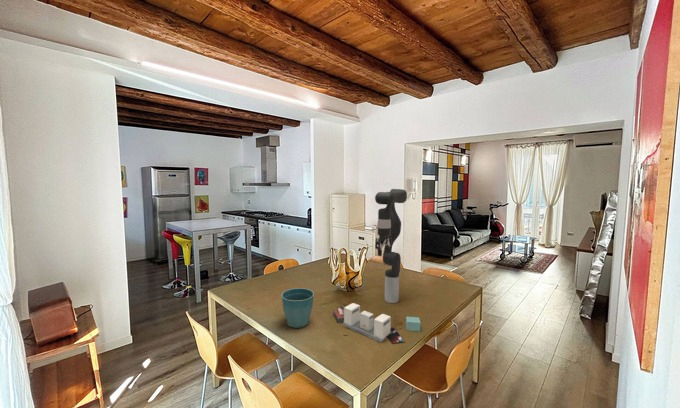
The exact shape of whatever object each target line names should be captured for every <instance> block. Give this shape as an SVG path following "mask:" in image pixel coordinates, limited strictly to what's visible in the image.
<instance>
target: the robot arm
mask: <svg viewBox="0 0 680 408" xmlns="http://www.w3.org/2000/svg"><path fill="white" fill-rule="evenodd" d="M407 199H408V192H407V191H406V190H405V189H399V188H397V189H396V188H391V189H390V191H378V192H377V193H376V194H375V197H374V200H375V202H376V204H377V205H385V207H383V208H379V209H378V211H377V212H378V213H377V216H378V217H377V235H378V237H376V238H375V247H374V248H375V249H376V250H377V256H378V257H382V262H383V264H385V265H387V266H391V268H388V269H386V270H385V272H384V302H386V303H388V304H396V303H398V302H399V300H400V286H399V285H400V271H401V263H402V262H401V255H400V253H399V252H396V251H392V250H393V245H394V243H395V242H396V241H397V239H398V238H399V237H400V234H401V230H402V229H401V228H402V221H401V219H400V217H399V214H398V213H397V211H396V207H395V206H396V205H395V204H404V203H406V201H407ZM383 247H384V249H383ZM382 249H383V251H382Z"/></svg>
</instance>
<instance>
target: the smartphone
mask: <svg viewBox="0 0 680 408" xmlns="http://www.w3.org/2000/svg"><path fill="white" fill-rule="evenodd" d="M390 332H391V335H389V336H388V337H387V338H386V339H388V340H389V342H390V344H392V345H397V344H398V345H399V344H405V343H406V341H405V339H404V338H403V337H402V336H401V334H400V333H399V332H398V330H397V329H396V328H395V327H394V326H393V327H391V329H390Z"/></svg>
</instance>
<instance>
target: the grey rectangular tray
mask: <svg viewBox="0 0 680 408" xmlns="http://www.w3.org/2000/svg"><path fill="white" fill-rule="evenodd" d="M342 327H344V328H347V329H348V330H349V329H350V330H351V331H354V332H356V333H358V334H360V335H363V336H365V337H368V338H370V339H371V340H374V341H376V342H379V343H383V342H384V341H385V340H386V339H388V338H387V337H388V336H389V335H391V332H390V334H389V335H387V336H386V337H385V338H384V339H381V338H379V337H377V336H374V324H373V329H371V330H370V331H367V330H365V329H363V328H360V320H359V321H358V322H357V323H355V324H354V325H349V324H346V323H342Z"/></svg>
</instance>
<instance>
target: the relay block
mask: <svg viewBox="0 0 680 408" xmlns="http://www.w3.org/2000/svg"><path fill="white" fill-rule="evenodd" d="M405 326H406V331H409V332H410V331H412V332H421V320H420V317H418V316H406V317H405Z"/></svg>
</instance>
